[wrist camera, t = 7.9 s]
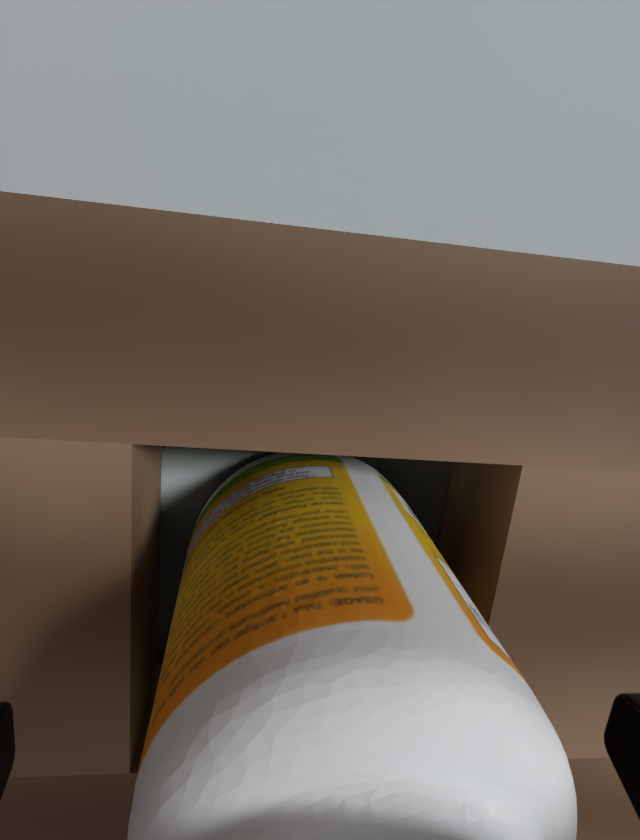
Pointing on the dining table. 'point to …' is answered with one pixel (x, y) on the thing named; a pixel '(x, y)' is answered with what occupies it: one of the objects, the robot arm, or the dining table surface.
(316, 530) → the supplement bottle
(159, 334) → the socket board
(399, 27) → the dining table surface
